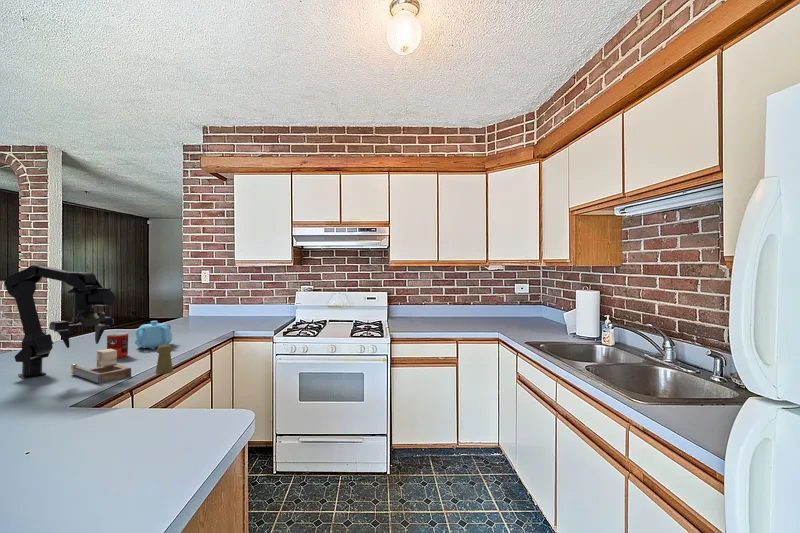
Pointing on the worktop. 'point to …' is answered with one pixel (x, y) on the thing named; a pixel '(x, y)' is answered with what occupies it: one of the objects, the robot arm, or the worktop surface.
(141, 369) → the worktop surface
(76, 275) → the robot arm
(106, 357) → the birch block
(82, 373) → the bar
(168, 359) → the cork
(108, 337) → the canned food
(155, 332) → the decorative pot
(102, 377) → the walnut cradle
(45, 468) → the worktop surface
